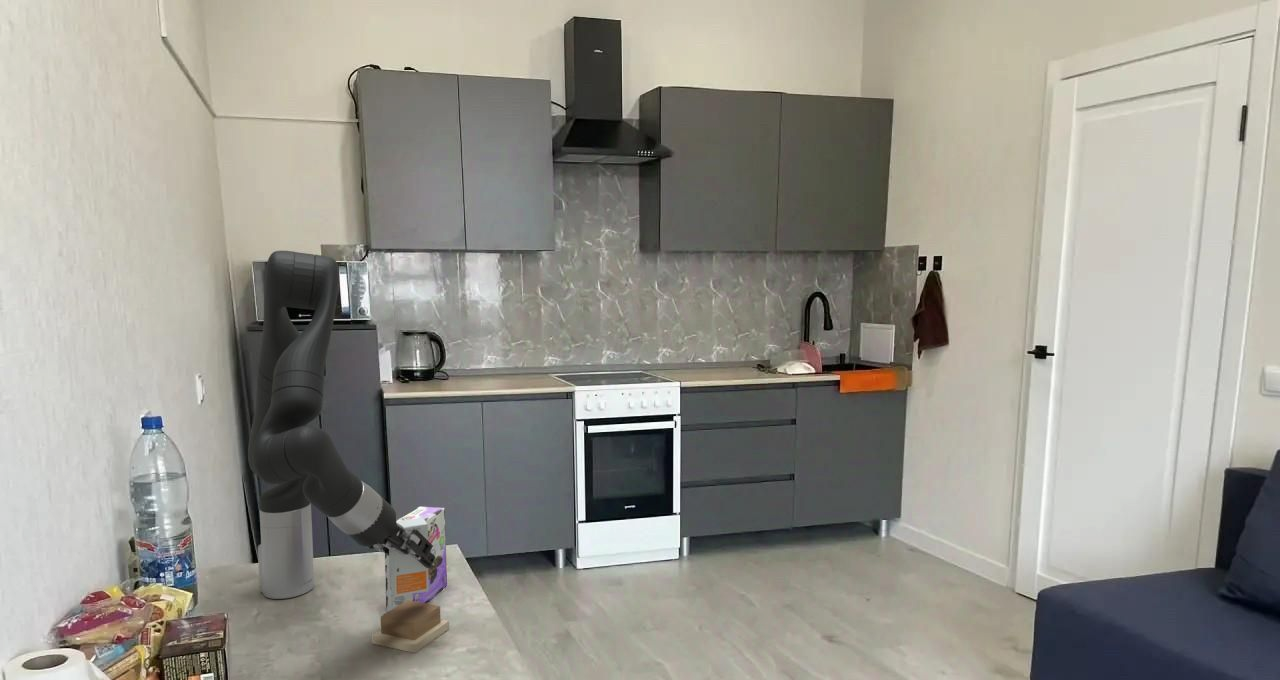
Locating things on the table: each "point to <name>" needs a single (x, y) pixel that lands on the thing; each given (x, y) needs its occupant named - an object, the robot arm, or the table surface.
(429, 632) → the plinth
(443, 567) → the candy box
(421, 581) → the skincare box
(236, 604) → the table surface
